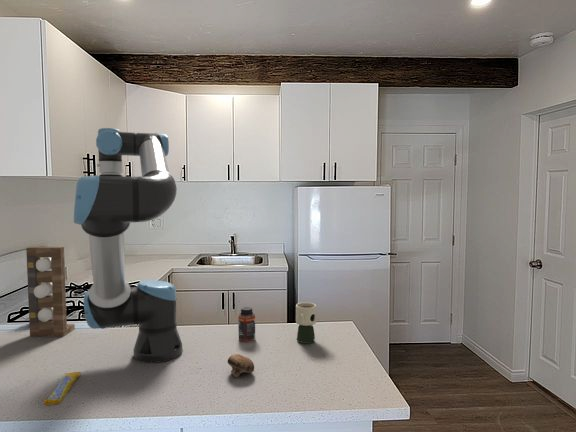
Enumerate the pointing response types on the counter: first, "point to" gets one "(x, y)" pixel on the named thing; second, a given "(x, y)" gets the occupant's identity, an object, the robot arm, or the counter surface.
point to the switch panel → (55, 301)
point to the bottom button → (45, 314)
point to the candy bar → (62, 388)
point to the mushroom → (240, 364)
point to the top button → (44, 264)
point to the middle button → (43, 290)
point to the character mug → (305, 322)
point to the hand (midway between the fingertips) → (112, 241)
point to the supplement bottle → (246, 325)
